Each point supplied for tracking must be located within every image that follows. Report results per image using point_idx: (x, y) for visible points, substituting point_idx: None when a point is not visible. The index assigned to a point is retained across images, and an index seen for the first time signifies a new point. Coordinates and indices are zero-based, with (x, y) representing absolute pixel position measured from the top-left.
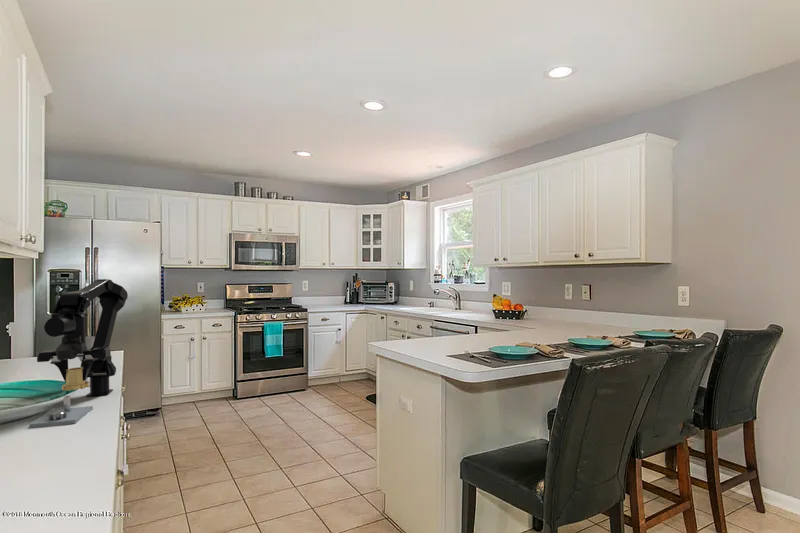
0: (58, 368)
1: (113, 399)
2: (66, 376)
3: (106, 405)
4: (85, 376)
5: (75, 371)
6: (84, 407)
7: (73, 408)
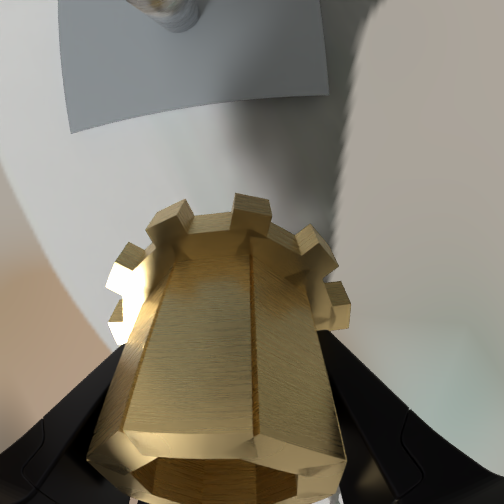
0: (466, 455)
1: (91, 314)
2: (314, 365)
3: (51, 203)
4: (93, 371)
5: (134, 407)
6: (104, 100)
7: (171, 84)
